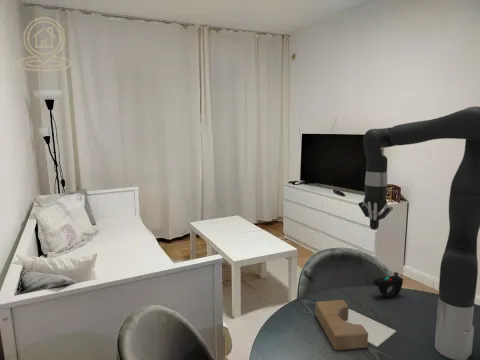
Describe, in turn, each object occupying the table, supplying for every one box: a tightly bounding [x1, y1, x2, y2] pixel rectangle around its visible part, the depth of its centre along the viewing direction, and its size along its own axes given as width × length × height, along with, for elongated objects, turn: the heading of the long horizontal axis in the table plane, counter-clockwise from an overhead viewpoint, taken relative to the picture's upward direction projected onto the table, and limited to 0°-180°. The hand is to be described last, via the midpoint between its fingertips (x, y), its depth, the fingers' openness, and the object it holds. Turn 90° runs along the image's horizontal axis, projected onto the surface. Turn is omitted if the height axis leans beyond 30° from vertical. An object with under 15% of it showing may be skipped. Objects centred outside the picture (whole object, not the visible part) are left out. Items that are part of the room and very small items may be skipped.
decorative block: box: [314, 299, 369, 351], centre depth 118 cm, size 11×6×20 cm
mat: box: [344, 308, 397, 348], centre depth 121 cm, size 20×12×1 cm, turn 39°
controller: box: [372, 271, 404, 299], centre depth 140 cm, size 4×12×10 cm, turn 102°
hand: (374, 229), depth 127 cm, fingers closed
